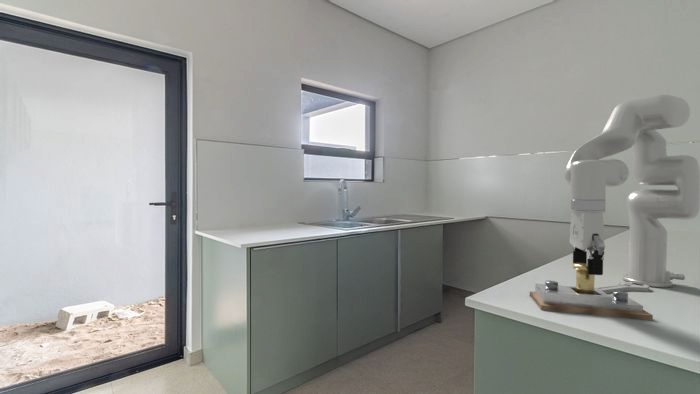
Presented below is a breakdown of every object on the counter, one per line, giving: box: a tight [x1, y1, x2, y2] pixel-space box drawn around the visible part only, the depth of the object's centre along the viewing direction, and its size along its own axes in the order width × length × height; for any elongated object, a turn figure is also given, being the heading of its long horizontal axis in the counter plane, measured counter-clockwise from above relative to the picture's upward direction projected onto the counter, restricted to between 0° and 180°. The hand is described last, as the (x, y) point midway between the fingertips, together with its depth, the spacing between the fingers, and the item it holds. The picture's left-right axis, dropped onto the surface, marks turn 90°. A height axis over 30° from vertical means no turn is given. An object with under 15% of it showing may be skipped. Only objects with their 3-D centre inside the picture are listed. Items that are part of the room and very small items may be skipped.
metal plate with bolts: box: [534, 279, 644, 312], centre depth 88 cm, size 22×8×5 cm, turn 74°
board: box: [529, 291, 654, 321], centre depth 88 cm, size 24×12×1 cm, turn 74°
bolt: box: [572, 262, 596, 295], centre depth 88 cm, size 6×6×10 cm
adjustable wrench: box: [597, 281, 650, 294], centre depth 103 cm, size 25×6×2 cm, turn 102°
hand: (586, 269), depth 88 cm, fingers open, 9 cm apart
